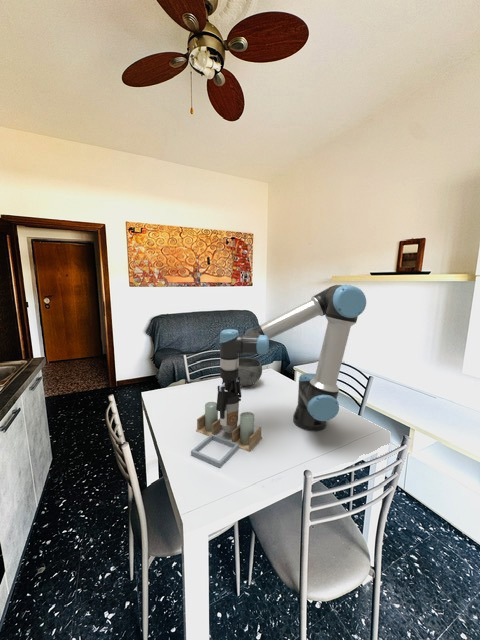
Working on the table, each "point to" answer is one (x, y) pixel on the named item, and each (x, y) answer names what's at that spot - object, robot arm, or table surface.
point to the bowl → (249, 371)
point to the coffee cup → (232, 412)
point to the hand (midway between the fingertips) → (229, 420)
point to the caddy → (235, 433)
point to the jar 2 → (246, 427)
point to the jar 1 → (210, 415)
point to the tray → (213, 461)
